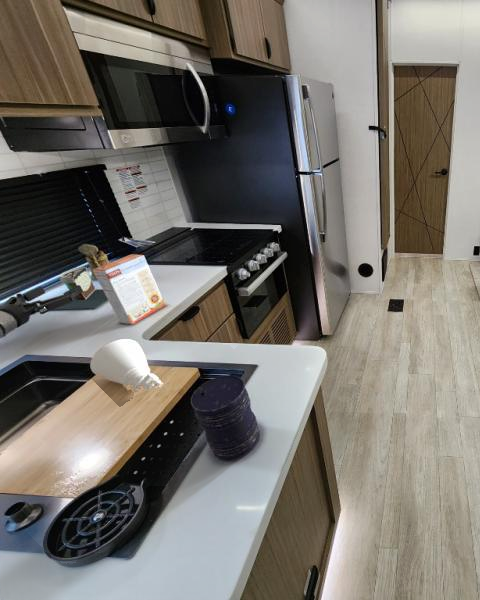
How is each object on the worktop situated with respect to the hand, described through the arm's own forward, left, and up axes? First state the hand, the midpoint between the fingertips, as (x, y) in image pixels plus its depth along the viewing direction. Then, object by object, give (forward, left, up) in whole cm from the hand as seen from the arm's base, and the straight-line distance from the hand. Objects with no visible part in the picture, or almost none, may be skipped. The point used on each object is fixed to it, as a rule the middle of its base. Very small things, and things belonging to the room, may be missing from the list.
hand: (61, 288), depth 122 cm
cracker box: (+31, -7, -8) cm, 33 cm away
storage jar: (+87, -65, -8) cm, 108 cm away
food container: (-3, +9, -8) cm, 12 cm away
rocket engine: (+52, -46, -8) cm, 70 cm away
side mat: (0, +6, -8) cm, 10 cm away
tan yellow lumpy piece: (-7, +27, -8) cm, 29 cm away
